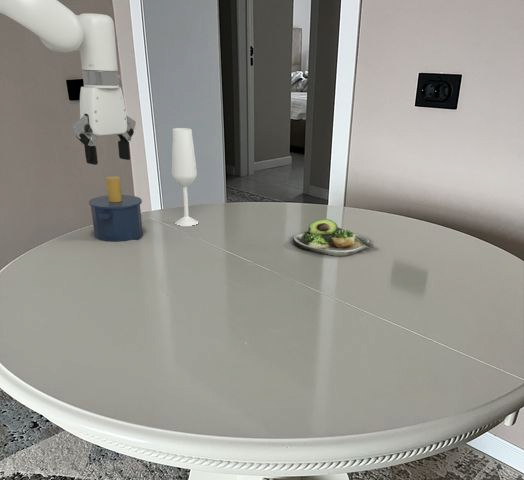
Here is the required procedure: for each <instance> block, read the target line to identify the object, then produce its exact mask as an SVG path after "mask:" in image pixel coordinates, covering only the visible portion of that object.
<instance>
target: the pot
mask: <svg viewBox="0 0 524 480" xmlns="http://www.w3.org/2000/svg"><path fill="white" fill-rule="evenodd" d="M90 209H91V218H92V225H93V232H94V233H93V234H94V238H95V239H96V240H98V241H103V242H108V243H109V242H110V243H111V242H113V243H118V242H119V243H120V242H128V241H139V240H141V239H142V238H143V236H144V235H143V233H144V232H143V221H142V212H141V204H140V205H138V206H135V207H131V208H124V209H100V208H94V207H92V206H90ZM141 237H142V238H141ZM140 238H141V239H140Z"/></svg>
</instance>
